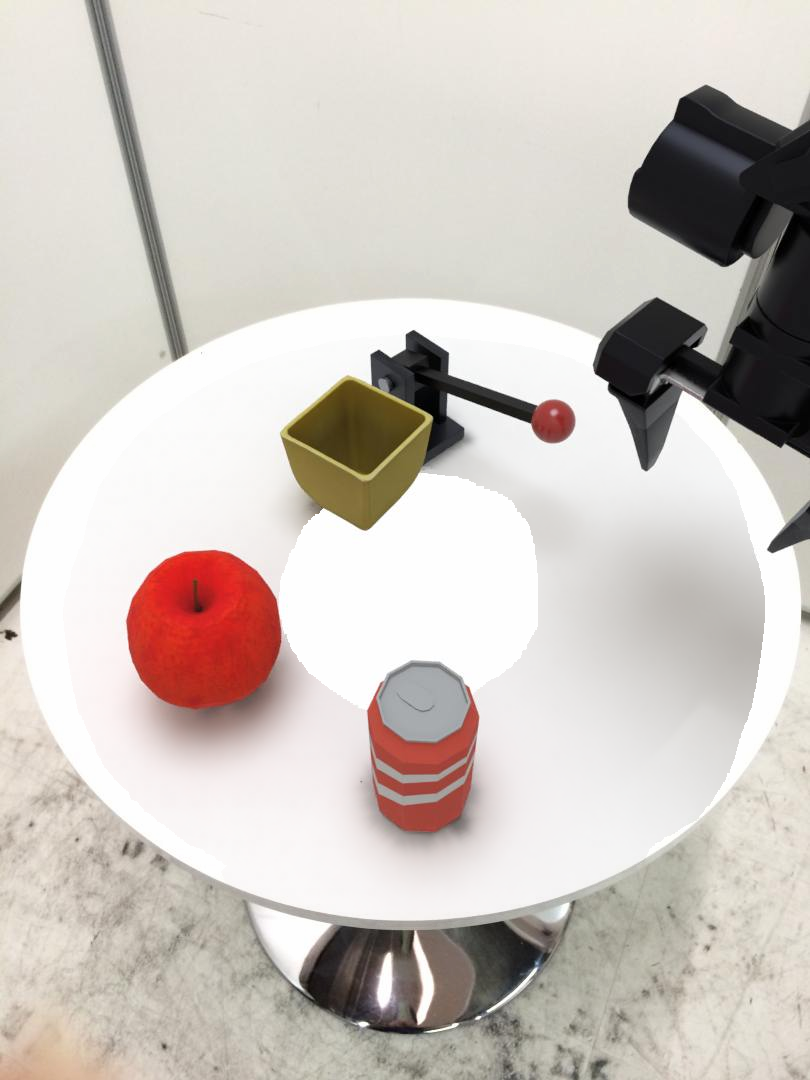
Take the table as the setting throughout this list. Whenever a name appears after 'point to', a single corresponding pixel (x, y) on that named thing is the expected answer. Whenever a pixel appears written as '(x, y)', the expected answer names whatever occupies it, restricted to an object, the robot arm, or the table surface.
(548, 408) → the lever
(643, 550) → the table surface
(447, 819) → the beverage can
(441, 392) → the bracket
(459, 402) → the table surface
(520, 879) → the table surface
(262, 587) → the apple
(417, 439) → the flower pot
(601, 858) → the table surface
